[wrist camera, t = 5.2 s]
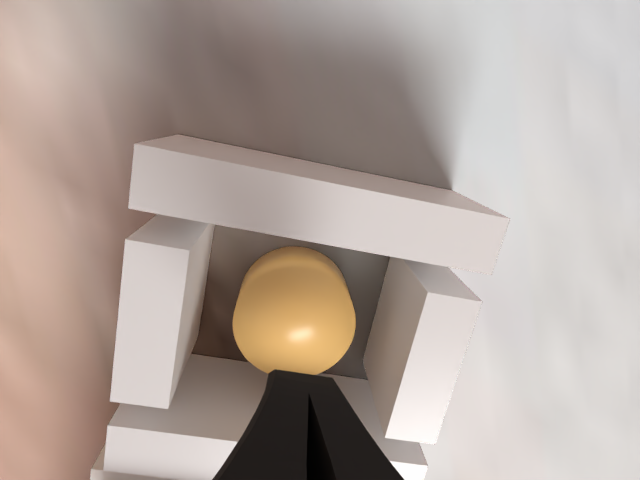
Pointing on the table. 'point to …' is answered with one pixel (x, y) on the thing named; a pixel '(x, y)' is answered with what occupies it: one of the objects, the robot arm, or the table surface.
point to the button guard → (302, 224)
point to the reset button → (294, 312)
